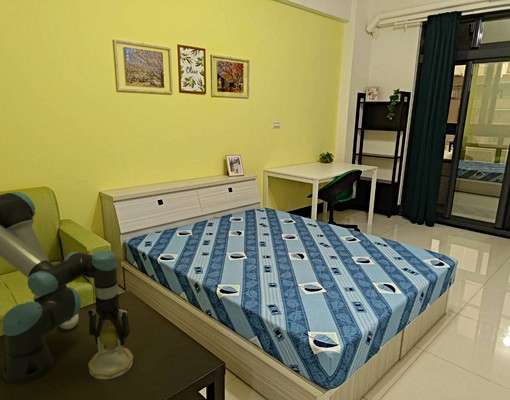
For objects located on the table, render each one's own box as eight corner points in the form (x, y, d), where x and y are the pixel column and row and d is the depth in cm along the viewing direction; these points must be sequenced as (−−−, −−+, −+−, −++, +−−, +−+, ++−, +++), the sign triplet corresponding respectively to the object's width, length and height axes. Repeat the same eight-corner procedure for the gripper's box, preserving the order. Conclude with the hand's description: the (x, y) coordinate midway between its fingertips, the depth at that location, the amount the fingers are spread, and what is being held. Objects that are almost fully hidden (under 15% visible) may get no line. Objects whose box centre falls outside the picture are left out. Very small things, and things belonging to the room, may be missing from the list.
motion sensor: (58, 334, 147) (56, 318, 145) (58, 324, 153) (56, 309, 152) (79, 329, 151) (78, 313, 149) (78, 320, 157) (77, 304, 155)
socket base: (80, 377, 124) (80, 372, 124) (101, 349, 139) (101, 345, 138) (122, 381, 124) (122, 376, 123) (139, 352, 138) (138, 348, 138)
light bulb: (114, 359, 127) (113, 335, 124) (97, 356, 128) (95, 332, 125) (124, 348, 133) (123, 324, 131) (108, 345, 134) (107, 321, 132)
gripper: (73, 298, 121) (79, 356, 127) (129, 302, 120) (133, 360, 126) (85, 288, 129) (90, 343, 134) (138, 291, 127) (141, 347, 133)
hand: (111, 351), depth 130 cm, fingers closed on light bulb, 7 cm apart
